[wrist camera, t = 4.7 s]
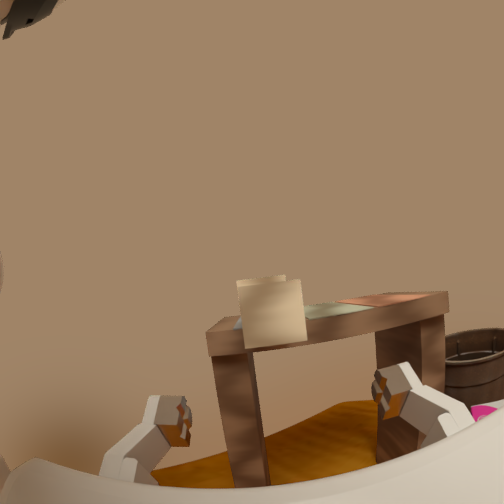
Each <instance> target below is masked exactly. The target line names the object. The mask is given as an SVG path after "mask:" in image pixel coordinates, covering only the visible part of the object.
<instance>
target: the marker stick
mask: <svg viewBox="0 0 504 504" xmlns="http://www.w3.org/2000/svg"><path fill="white" fill-rule="evenodd" d="M237 288H238V297H239V305H240V313H241V320H242V328H243V336H244V343H245V349H248V348H257V347H265V346H273V345H280V344H287V343H294V342H301V341H307V331H306V322H305V314H304V305H303V297H302V289H301V282H300V279H296V280H289V281H286V277H285V275H279V276H271V277H263V278H256V279H247V280H239V281H237Z"/></svg>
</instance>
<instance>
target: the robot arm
mask: <svg viewBox="0 0 504 504" xmlns="http://www.w3.org/2000/svg"><path fill="white" fill-rule="evenodd" d="M64 1H65V0H0V26H1V25H2V24H4V23H6V22H7V24H6V28H5V31H4V35H3V40H4V39H7V38H10V36H11V35H12V34H13V33H14V31H15V30H17V29H21V28H25V27H28V26H31V25H33V24H35V23H36V22H38V21H40V20H42V19H44V18H45V17H47V16H49V15H50V14H51V13H52V11H53V10H54V9H55V8H57V7H58V6H59V5H61V4H62V3H63V2H64ZM3 273H4V272H3V261H2V256H1V253H0V292H1V288H2V284H3ZM374 377H375V380H374V381H373V383H372V387H371V389H372V396H373V399H374V401H375V402H376V403H378V404H379V407H378V411H379V413H380V415H381V418H382V420H385V419H388V418H392V417H395V416H399V415H400V417H401V418H403V419H404V420H406V421H407V422H408V423H410V424H411V425H413V426H414V427H415V428H417V429H418V430H419V431H421V432H422V433H424V434H425V435H427V436H426V438H425V439H424V441H423V442H422V444H421V446H420V447H421V449H419V450H416V451H414V452H411V453H409V454H406V455H403V456H401V457H398V458H395V459H392V460H389V461H386V462H383V463H380V464H377V465H373V466H370V467H367V468H363V469H359V470H356V471H352V472H348V473H344V474H340V475H335V476H331V477H326V478H321V479H316V480H310V481H304V482H298V483H291V484H283V485H275V486H265V487H252V488H230V489H201V488H180V487H167V486H158V484H159V483H158V482H157V481H156V480H155V479H154V478H153V477H152V476H151V475H150V473H151V471H152V470H153V469H154V468H155V467H156V465H157V464H158V463H159V462H160V460H161V459H162V458H163V457H164V455H165V454H166V453H167V452H168V451H169V449H170V448H171V447H172V446H173V447H189V445H190V437H191V434H190V432H189V428H190V427H191V426H192V413H191V410H190V408H189V406H187V405H186V402H187V400H186V399H185V396H159V395H150V397H149V398H148V401H147V405H146V409H145V413H144V416H143V420H142V424H138V425H137V426H136V427H135V428H133V429H132V430H131V431H130V432H129V433H128V434H127V435H125V436H124V437H123V438H122V439H121V440H120V441H119V442H117V443H116V444H115V445H114V446H113V447H112V448H111V449H109V450H108V451H107V452H106V453H105V455H104V459H103V462H102V466H101V469H100V472H99V476H98V475H93V474H90V473H86V472H81V471H78V470H75V469H71V468H68V467H65V466H61V465H58V464H55V463H52V462H49V461H46V460H44V459H41V458H32V459H30V460H28V461H27V462H25V463H23V464H22V465H20V466H18V467H17V468H15V469H14V470H13V471H12V472H11V471H10V470H9V468H8V466H7V464H6V462H5V460H4V459H3V457H2V455H1V454H0V504H504V405H503V406H502V407H500V408H499V409H497V410H495V411H494V412H492V413H491V414H489V415H487V416H486V417H484V418H482V419H480V420H479V421H477V422H475V420H474V419H473V417H472V415H471V414H470V412H469V411H468V409H467V407H466V406H465V404H464V403H462V402H460V401H458V400H455V399H453V398H451V397H449V396H447V395H445V394H443V393H441V392H439V391H437V390H435V389H433V388H431V387H429V386H427V385H424V386H423V385H422V383H421V382H420V380H419V378H418V377H417V375H416V374H415V372H414V370H413V369H412V367H411V366H410V364H409V363H408V362H404V363H400V364H397V365H392V366H389V367H385V368H382V369H378V370H376V371H375V374H374Z"/></svg>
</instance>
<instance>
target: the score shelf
mask: <svg viewBox="0 0 504 504" xmlns="http://www.w3.org/2000/svg"><path fill="white" fill-rule="evenodd" d="M448 312H449V301H448V291H436V292H396V293H383V294H378V295H370V296H364V297H358V298H352V299H347V300H341V301H335V302H329V303H322V304H316V305H309V306H304V314H305V322H306V331H307V341H301V342H294V343H287V344H280V345H273V346H265V347H257V348H248V349H245V343H244V336H243V328H242V320H241V315H240V316H231V317H224V318H223V319H222V320H220V321H219V322H218V323H217V324H215V325H214V326H213V327H212V328H210V329H209V330H208V331H207V332H206V339H207V346H208V353H209V356H211V358H212V364H213V371H214V378H215V384H216V390H217V396H218V402H219V407H220V414H221V419H222V425H223V430H224V435H225V441H226V445H227V451H228V456H229V461H230V465H231V470H232V475H233V479H234V484H235V488H252V487H265V486H271V483H270V476H269V469H268V462H267V455H266V448H265V441H264V434H263V427H262V419H261V412H260V404H259V397H258V389H257V382H256V374H255V367H254V360H253V352H260V351H268V350H276V349H282V348H290V347H296V346H303V345H309V344H315V343H321V342H327V341H332V340H337V339H343V338H348V337H353V336H357V335H362V334H367V333H371V332H375V342H376V359H377V370H378V369H382V368H385V367H389V366H392V365H397V364H400V363H404V362H408V363H409V364H410V366H411V367H412V369H413V370H414V372H415V374H416V375H417V377H418V378H419V380H420V382H421V383H422V385H423V386H424V385H427V386H429V387H431V388H433V389H435V390H437V391H439V392H441V393H443V394H444V388H445V328H444V327H445V326H444V313H448ZM378 407H379V404H378ZM426 436H427V435H425V434H424V433H422V432H421V431H419V430H418V429H417V428H415V427H414V426H413V425H411V424H410V423H408V422H407V421H406V420H404V419H403V418H401V417H400V415H399V416H395V417H392V418H388V419H385V420H382V418H381V415H380V413H379V411H378V431H377V455H376V462H377V463H378V464H380V463H383V462H386V461H389V460H392V459H395V458H398V457H401V456H403V455H406V454H409V453H411V452H414V451H416V450H419V449H421V447H420V446H421V444H422V442H423V441H424V439H425V438H426Z"/></svg>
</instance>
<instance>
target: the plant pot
mask: <svg viewBox="0 0 504 504" xmlns="http://www.w3.org/2000/svg"><path fill="white" fill-rule="evenodd" d="M444 394H445V395H447V396H449V397H451V398H453V399H455V400H458V401H460V402H462V403H464V404H465V406H466V407H467V409H468V411H469V412H470V410H471V406H474V405H480V404H485V403H491V402H495V401H499V400H503V399H504V328H483V329H474V330H467V331H462V332H457V333H453V334H449V335H446V336H445V388H444Z"/></svg>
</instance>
